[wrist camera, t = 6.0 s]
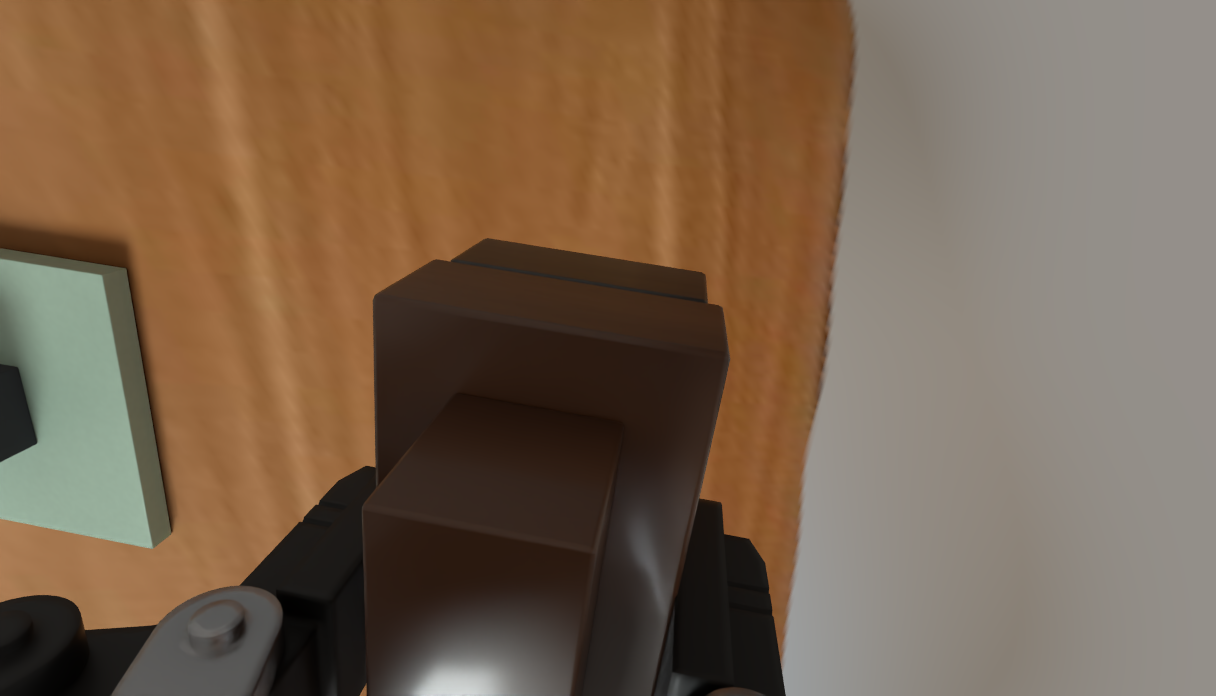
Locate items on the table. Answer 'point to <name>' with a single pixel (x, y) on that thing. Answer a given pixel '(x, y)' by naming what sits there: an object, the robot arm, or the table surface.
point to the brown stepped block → (534, 470)
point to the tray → (79, 403)
